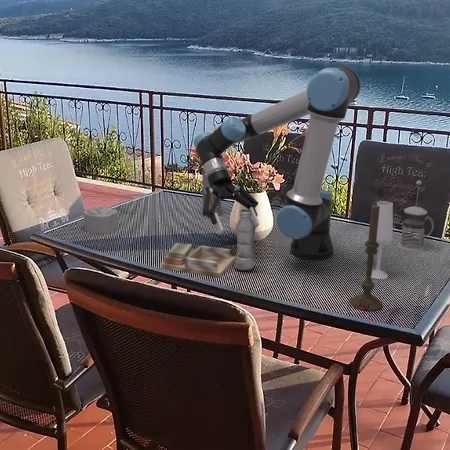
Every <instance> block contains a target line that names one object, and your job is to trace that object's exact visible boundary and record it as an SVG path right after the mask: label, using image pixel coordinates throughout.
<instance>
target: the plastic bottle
mask: <svg viewBox="0 0 450 450" xmlns="http://www.w3.org/2000/svg"><path fill="white" fill-rule="evenodd" d="M239 217H240V218H239V219H238V220H237V222H236V225H235V231H236V232H235V234H236V242H237V243H236V244H237V245H236V253H235V256H234V257H235V262H234V265H235V267H236V269H238V270H239V271H243V272H244V271H250V270H252V269H253V268H254V266H255V262H256V260H255V254H254V253H255V252H254V242H255V241H254V239H255V233H256V226H255V223H254V221H253V220H252V219H251V217H252V211H251V210H249V209H247V208H245V209H244V208H243V209H240V212H239Z"/></svg>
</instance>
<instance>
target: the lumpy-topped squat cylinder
mask: <svg viewBox="0 0 450 450" xmlns="http://www.w3.org/2000/svg"><path fill="white" fill-rule="evenodd" d="M118 221H119V219H118V211H117V210H116V209H113V208H110V207H109V206H108V205H102V206H100V207H99V206H97V205H93V206H92V207H89V208H87V209H85V210H84V211H83V222H84V230H85V231H86V232H88V233H92V234H100V235H107V234H108V235H109V234H111V233H113V232H115V231H117V230H118V229H119V223H118ZM112 231H113V232H112Z"/></svg>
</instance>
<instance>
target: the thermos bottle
mask: <svg viewBox="0 0 450 450" xmlns="http://www.w3.org/2000/svg"><path fill="white" fill-rule="evenodd" d="M201 171H202V173H201V175H202V182H201V183H202V207H203V206H204V199H205V196H204V190H205V188H206V187H209V188H211V187H210V185H209V182H208V178H207V177H206V175H205V173H204V171H203V170H202V169H201ZM215 197H216V196H215V195H214V194H213V193H211V194H210V203H209V210H210V209H211V207H212V204H213V202H214V199H215ZM214 213H217V215H218V217H219V216H221V214H222V200H221V199H219V202H218V204H217V206H216V209H215V211H214ZM205 217H207V215H206V216H205Z"/></svg>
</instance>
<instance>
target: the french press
mask: <svg viewBox="0 0 450 450" xmlns="http://www.w3.org/2000/svg"><path fill="white" fill-rule="evenodd" d="M422 183H423V182H422V181H421V180H417V181H416V185H418V186H417V191H420V185H422ZM418 196H419V192H417V195H416V199H418ZM417 204H418V200H416V202H415V206H409V207H407V208H404V209H403V212H404V213H405V214H407V215H410V216H414V218H406V219H404V220H403V224H402V228H401V229H402V230H401V235H400V236H401V238H400V242H399V243H397V248H399V249H400V250H402V251H407V252H415V253H417V252H423V251H426V247H425V245H424V242H425V237H428V236H430V235H431V233H432V232H433V231H434V226H435V224H434V220H433V219H432V218H431V217H430V216H428V215H427V214H428V210H426V209H424V208H422V207H420V206H417ZM416 216H418V217H419V216H425V217H424V220H421V219H416ZM427 220H428V221H430V223H431V231H430V232H429V233H427V234H425V230H426V229H425V228H426V226H425V222H426V221H427Z"/></svg>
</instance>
